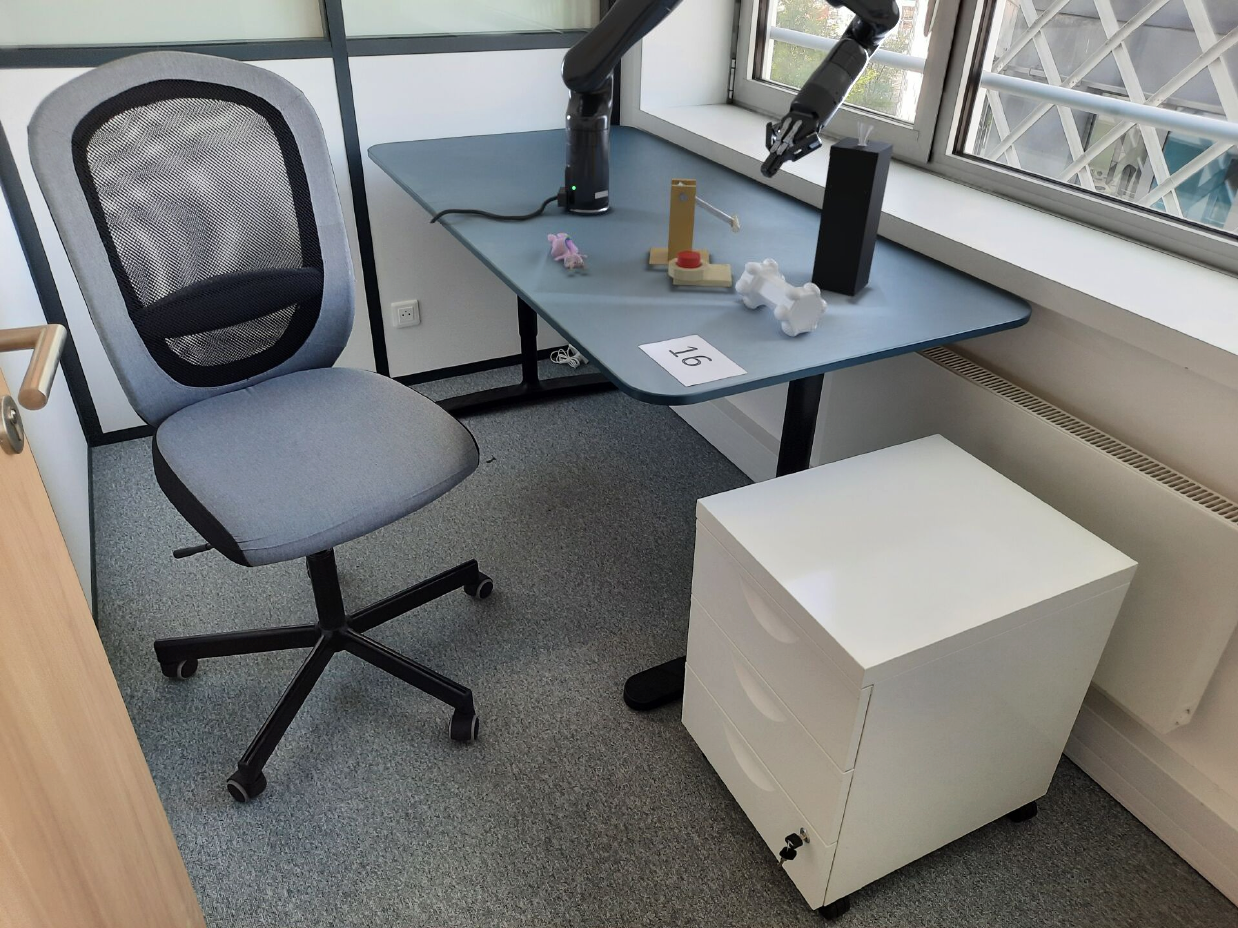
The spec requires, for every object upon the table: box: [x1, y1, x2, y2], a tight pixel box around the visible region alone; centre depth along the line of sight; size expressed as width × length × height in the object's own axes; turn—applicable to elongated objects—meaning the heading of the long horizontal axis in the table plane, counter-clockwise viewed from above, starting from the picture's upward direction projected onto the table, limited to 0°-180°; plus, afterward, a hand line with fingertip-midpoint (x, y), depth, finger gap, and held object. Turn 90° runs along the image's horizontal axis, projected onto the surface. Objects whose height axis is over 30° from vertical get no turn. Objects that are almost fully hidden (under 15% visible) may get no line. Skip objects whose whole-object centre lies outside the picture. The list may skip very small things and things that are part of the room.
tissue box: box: [810, 121, 895, 297], centre depth 146 cm, size 8×8×28 cm
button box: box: [667, 258, 733, 288], centre depth 154 cm, size 11×9×4 cm
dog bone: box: [735, 257, 828, 337], centre depth 141 cm, size 15×9×8 cm, turn 24°
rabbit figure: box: [547, 232, 588, 272], centre depth 162 cm, size 6×6×15 cm
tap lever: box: [678, 182, 740, 234], centre depth 159 cm, size 13×6×2 cm, turn 88°
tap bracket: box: [648, 178, 710, 266], centre depth 160 cm, size 11×9×15 cm
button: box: [677, 251, 701, 269], centre depth 152 cm, size 4×4×2 cm
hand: (765, 174), depth 159 cm, fingers closed
